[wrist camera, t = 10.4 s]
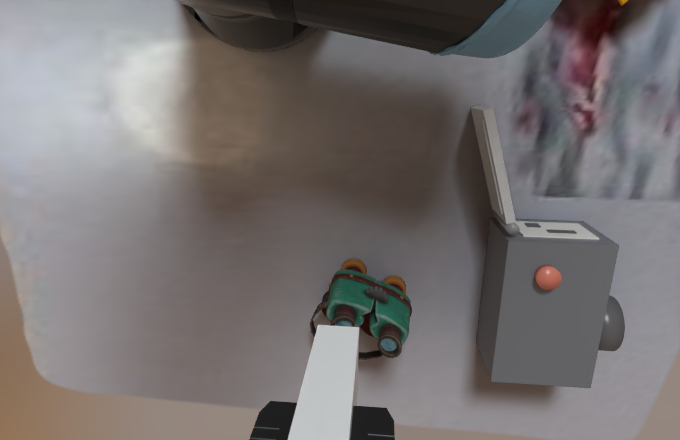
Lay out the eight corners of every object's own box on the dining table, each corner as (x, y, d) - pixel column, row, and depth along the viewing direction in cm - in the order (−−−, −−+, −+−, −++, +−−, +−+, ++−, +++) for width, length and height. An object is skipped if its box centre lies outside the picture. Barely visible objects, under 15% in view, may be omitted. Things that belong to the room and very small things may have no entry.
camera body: (490, 215, 46) (511, 241, 38) (613, 220, 45) (659, 247, 37) (476, 341, 50) (492, 387, 42) (588, 348, 49) (626, 395, 41)
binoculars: (288, 380, 42) (328, 296, 38) (310, 315, 51) (344, 243, 48) (377, 418, 42) (427, 338, 38) (382, 346, 52) (422, 277, 48)
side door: (491, 217, 45) (507, 236, 40) (468, 107, 42) (481, 111, 37) (502, 214, 45) (520, 233, 39) (480, 104, 42) (495, 107, 37)
